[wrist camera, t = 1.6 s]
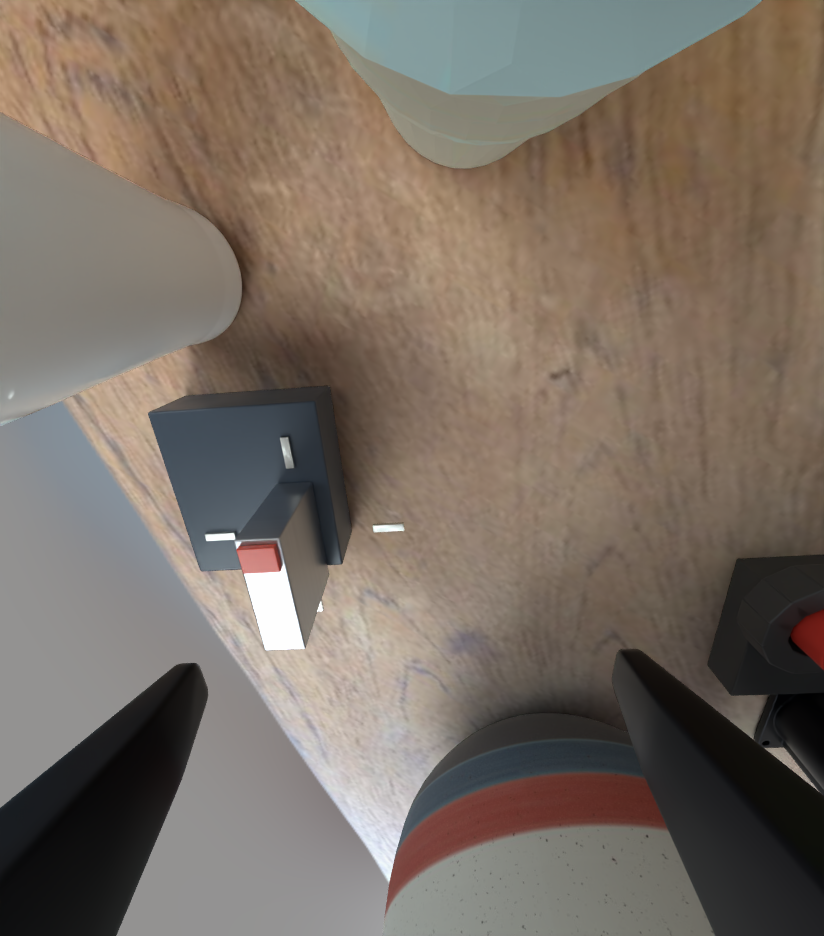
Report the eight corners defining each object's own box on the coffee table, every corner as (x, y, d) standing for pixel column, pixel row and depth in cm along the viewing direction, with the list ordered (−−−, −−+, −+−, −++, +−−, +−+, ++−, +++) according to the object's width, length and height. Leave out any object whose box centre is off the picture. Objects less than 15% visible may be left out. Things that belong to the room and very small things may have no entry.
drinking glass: (281, 225, 17) (-352, -73, 3) (246, 380, 19) (-186, 603, 6) (110, 152, 16) (-1848, -718, 2) (97, 325, 18) (-849, 426, 5)
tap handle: (329, 575, 20) (304, 654, 16) (297, 576, 20) (262, 656, 16) (312, 481, 18) (277, 542, 14) (276, 483, 18) (229, 544, 14)
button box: (850, 659, 25) (923, 721, 22) (689, 665, 26) (733, 727, 22) (909, 532, 22) (1009, 581, 18) (721, 541, 22) (780, 591, 19)
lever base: (412, 567, 23) (411, 607, 20) (237, 576, 24) (212, 616, 21) (395, 380, 19) (391, 396, 16) (184, 395, 20) (144, 413, 17)
